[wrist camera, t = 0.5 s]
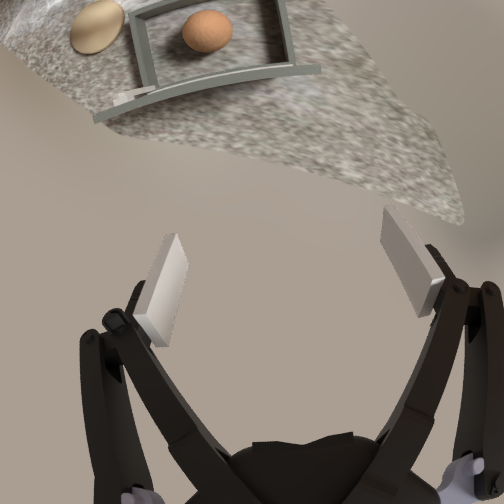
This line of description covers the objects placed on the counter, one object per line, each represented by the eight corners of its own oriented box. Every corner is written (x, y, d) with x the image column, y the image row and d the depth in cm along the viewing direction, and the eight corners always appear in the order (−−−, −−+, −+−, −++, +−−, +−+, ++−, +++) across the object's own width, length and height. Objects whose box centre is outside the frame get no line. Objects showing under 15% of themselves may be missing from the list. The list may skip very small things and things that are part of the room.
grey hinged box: (138, 17, 24) (69, -2, 11) (277, -15, 22) (291, -67, 9) (156, 99, 32) (94, 124, 19) (293, 73, 30) (321, 74, 17)
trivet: (71, 17, 22) (67, 17, 21) (120, -9, 21) (117, -10, 20) (79, 62, 27) (75, 63, 26) (128, 38, 26) (125, 38, 25)
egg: (198, 13, 25) (182, 0, 18) (240, 21, 26) (236, 7, 19) (186, 50, 28) (167, 45, 21) (227, 58, 29) (219, 54, 22)
